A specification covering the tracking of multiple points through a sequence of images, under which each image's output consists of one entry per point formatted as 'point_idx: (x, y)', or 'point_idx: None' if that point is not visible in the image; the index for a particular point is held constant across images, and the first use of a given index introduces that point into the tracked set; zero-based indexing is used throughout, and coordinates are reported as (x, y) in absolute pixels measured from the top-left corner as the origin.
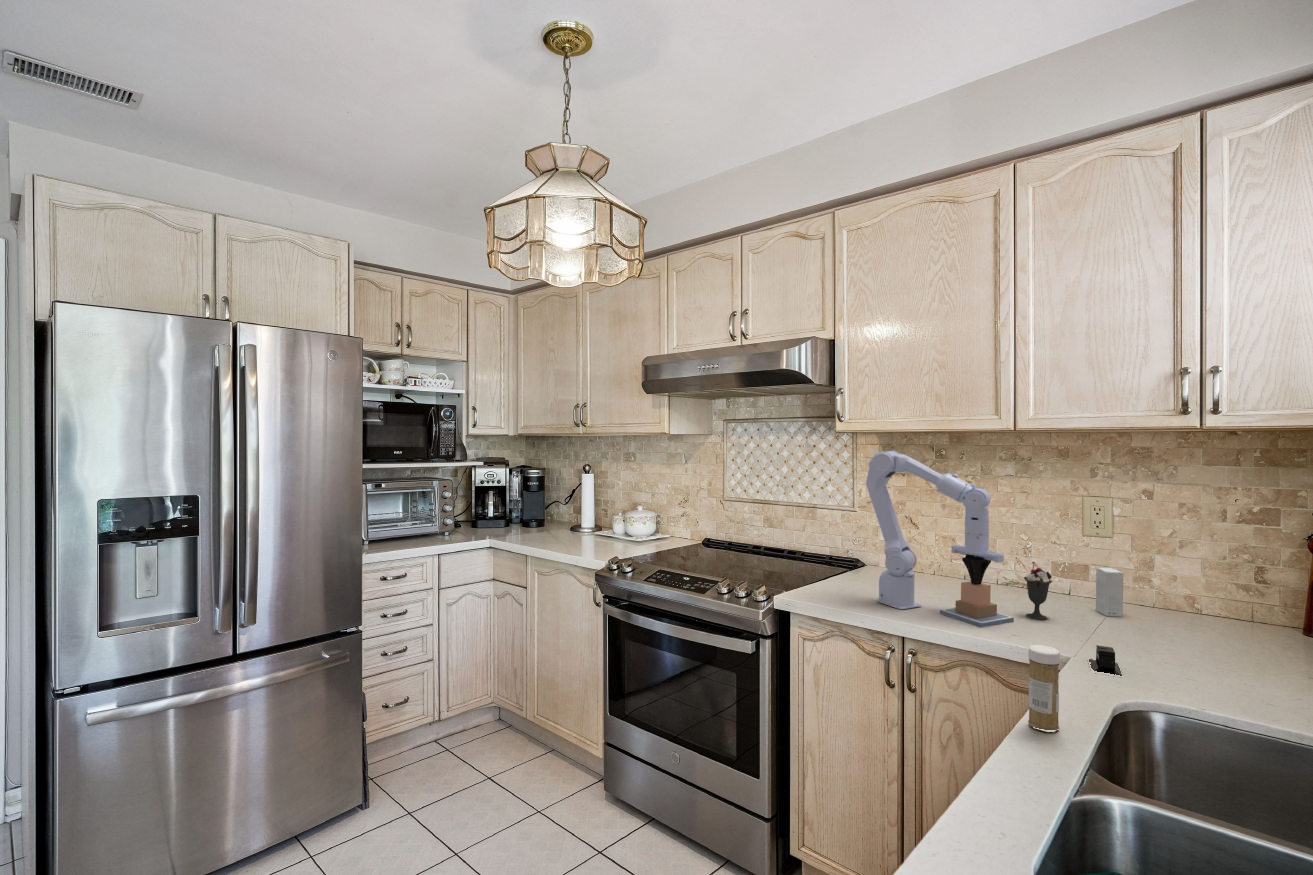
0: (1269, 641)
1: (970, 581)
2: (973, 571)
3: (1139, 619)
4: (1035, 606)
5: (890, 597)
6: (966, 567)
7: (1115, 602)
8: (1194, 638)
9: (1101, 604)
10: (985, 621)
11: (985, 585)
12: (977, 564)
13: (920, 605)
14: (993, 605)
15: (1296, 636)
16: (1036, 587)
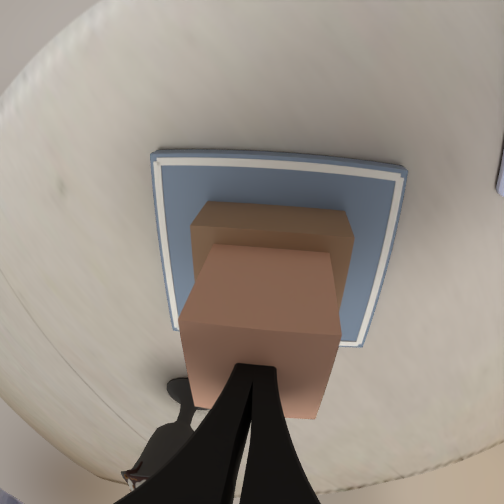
0: (53, 439)
1: (321, 400)
2: (219, 448)
3: (136, 457)
4: (183, 416)
5: None
6: (302, 476)
7: None
8: (54, 417)
9: None
10: (160, 192)
11: (198, 387)
12: (118, 501)
13: (499, 185)
14: None
15: (70, 458)
16: (145, 460)
